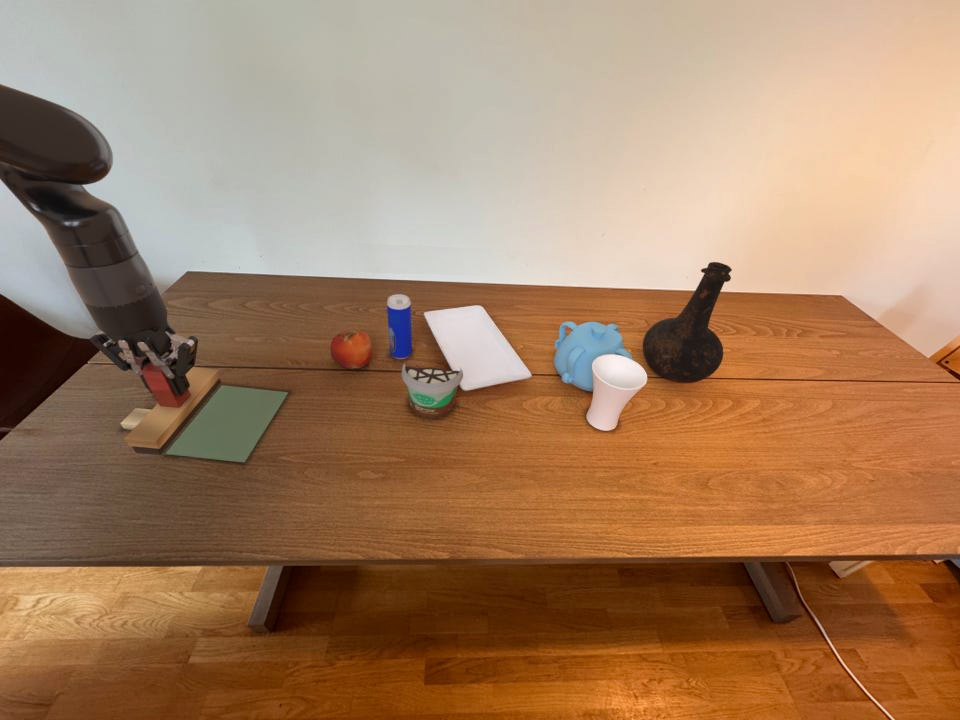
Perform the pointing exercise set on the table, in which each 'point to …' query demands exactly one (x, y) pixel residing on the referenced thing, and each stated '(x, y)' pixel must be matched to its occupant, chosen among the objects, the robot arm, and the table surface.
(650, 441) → the table surface
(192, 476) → the table surface
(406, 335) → the beverage can
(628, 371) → the cup
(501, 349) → the tray
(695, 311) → the glass bottle
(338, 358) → the tomato
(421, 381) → the food container
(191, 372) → the brush
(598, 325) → the decorative pot
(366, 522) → the table surface
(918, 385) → the table surface
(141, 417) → the chip
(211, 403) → the mat
